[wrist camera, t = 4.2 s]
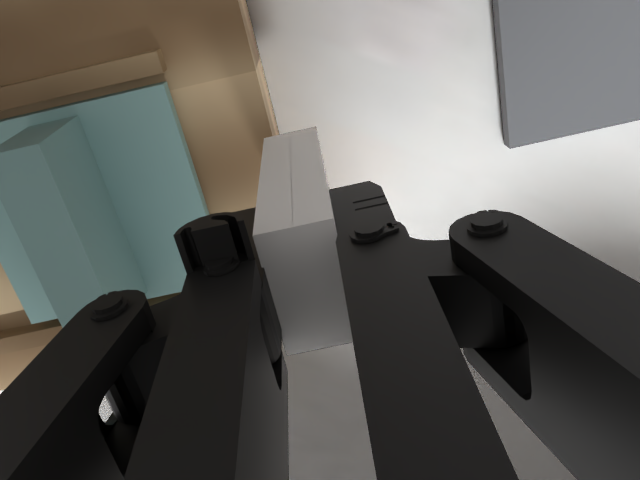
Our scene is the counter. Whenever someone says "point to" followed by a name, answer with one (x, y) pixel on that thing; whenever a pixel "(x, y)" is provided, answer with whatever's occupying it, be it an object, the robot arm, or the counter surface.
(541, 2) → the mat
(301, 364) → the counter surface
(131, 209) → the cover
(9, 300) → the wooden compartment tray
